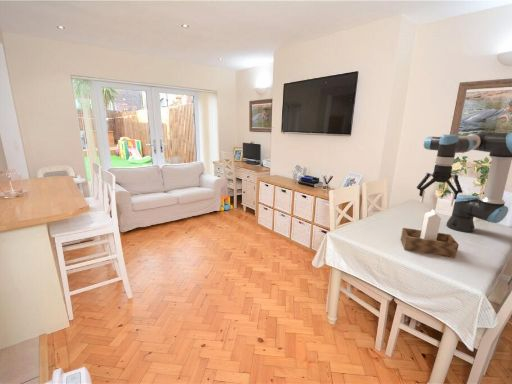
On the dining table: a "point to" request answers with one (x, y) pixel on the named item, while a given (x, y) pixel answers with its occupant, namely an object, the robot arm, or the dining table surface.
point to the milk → (430, 226)
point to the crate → (429, 243)
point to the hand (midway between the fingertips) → (435, 203)
